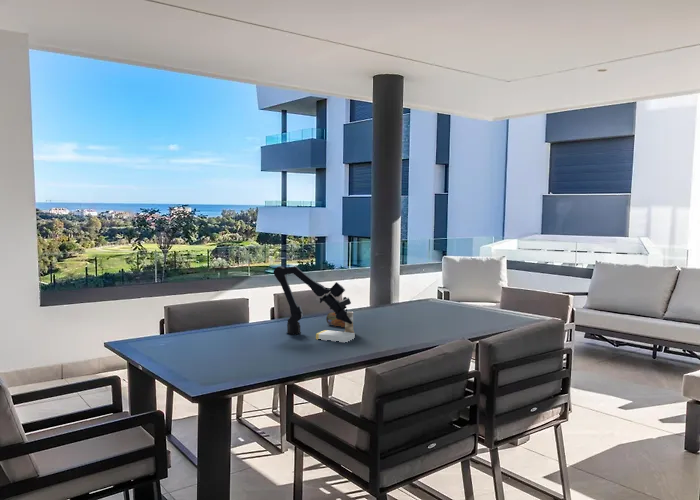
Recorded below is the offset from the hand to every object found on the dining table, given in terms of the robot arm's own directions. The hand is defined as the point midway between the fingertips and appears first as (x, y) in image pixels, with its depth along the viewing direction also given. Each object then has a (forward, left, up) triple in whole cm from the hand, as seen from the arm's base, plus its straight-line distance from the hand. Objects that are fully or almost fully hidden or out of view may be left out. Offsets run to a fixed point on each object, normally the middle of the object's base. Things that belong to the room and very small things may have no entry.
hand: (351, 322), depth 302 cm
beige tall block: (-1, -1, -7) cm, 7 cm away
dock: (-3, -15, -7) cm, 16 cm away
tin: (-16, +17, -7) cm, 25 cm away
